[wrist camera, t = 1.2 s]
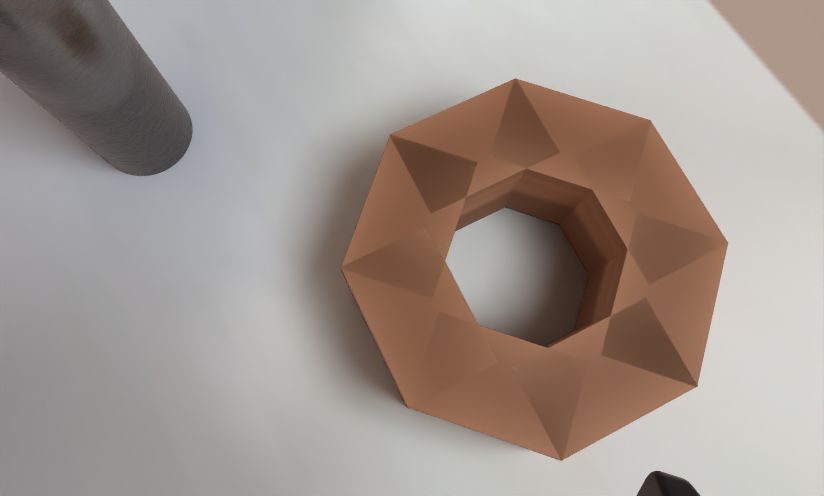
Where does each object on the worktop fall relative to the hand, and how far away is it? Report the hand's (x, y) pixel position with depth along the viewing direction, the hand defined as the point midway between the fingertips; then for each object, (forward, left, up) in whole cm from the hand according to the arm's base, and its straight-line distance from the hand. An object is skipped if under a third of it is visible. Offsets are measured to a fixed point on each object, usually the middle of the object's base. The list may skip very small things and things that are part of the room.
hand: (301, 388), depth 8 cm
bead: (+6, -4, -14) cm, 16 cm away
